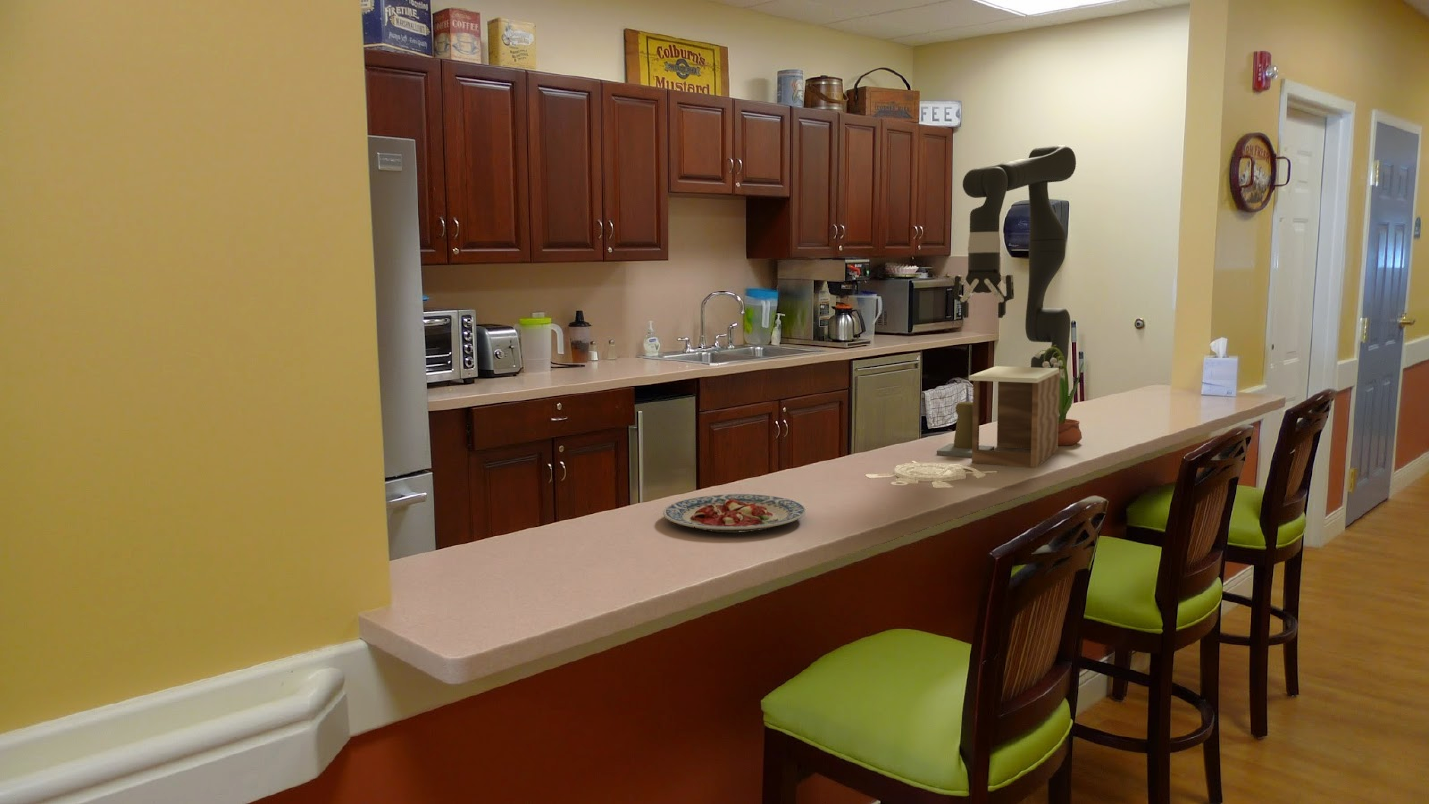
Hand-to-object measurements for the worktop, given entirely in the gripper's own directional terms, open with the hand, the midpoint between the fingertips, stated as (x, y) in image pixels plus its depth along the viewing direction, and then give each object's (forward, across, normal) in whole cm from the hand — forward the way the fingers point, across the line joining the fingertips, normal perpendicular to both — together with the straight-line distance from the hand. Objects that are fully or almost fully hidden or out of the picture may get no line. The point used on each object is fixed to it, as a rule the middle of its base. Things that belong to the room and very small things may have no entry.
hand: (983, 317), depth 252 cm
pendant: (+33, +1, +38) cm, 51 cm away
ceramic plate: (+33, +20, +93) cm, 101 cm away
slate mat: (+32, +1, +10) cm, 34 cm away
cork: (+31, +2, +7) cm, 32 cm away
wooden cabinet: (+32, -11, +10) cm, 35 cm away
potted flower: (+32, -16, -12) cm, 38 cm away
